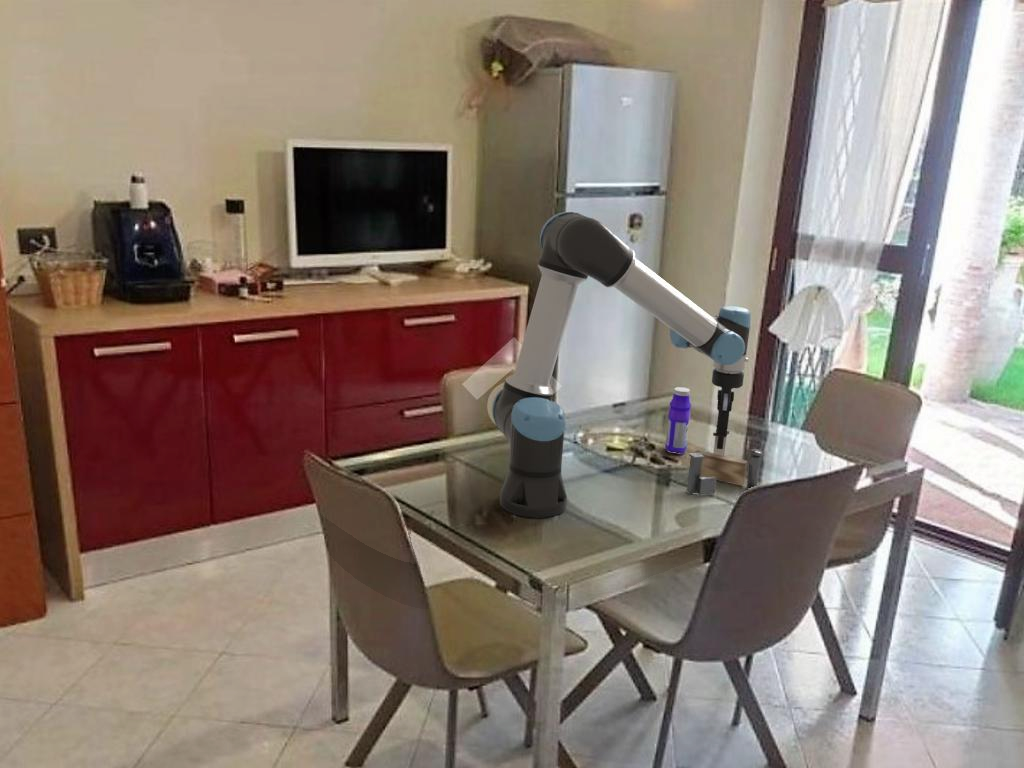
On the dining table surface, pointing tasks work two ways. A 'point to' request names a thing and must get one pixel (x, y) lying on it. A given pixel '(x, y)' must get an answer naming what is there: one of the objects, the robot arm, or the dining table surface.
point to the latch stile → (695, 481)
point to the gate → (723, 468)
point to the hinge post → (754, 467)
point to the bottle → (678, 421)
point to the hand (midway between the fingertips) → (718, 459)
